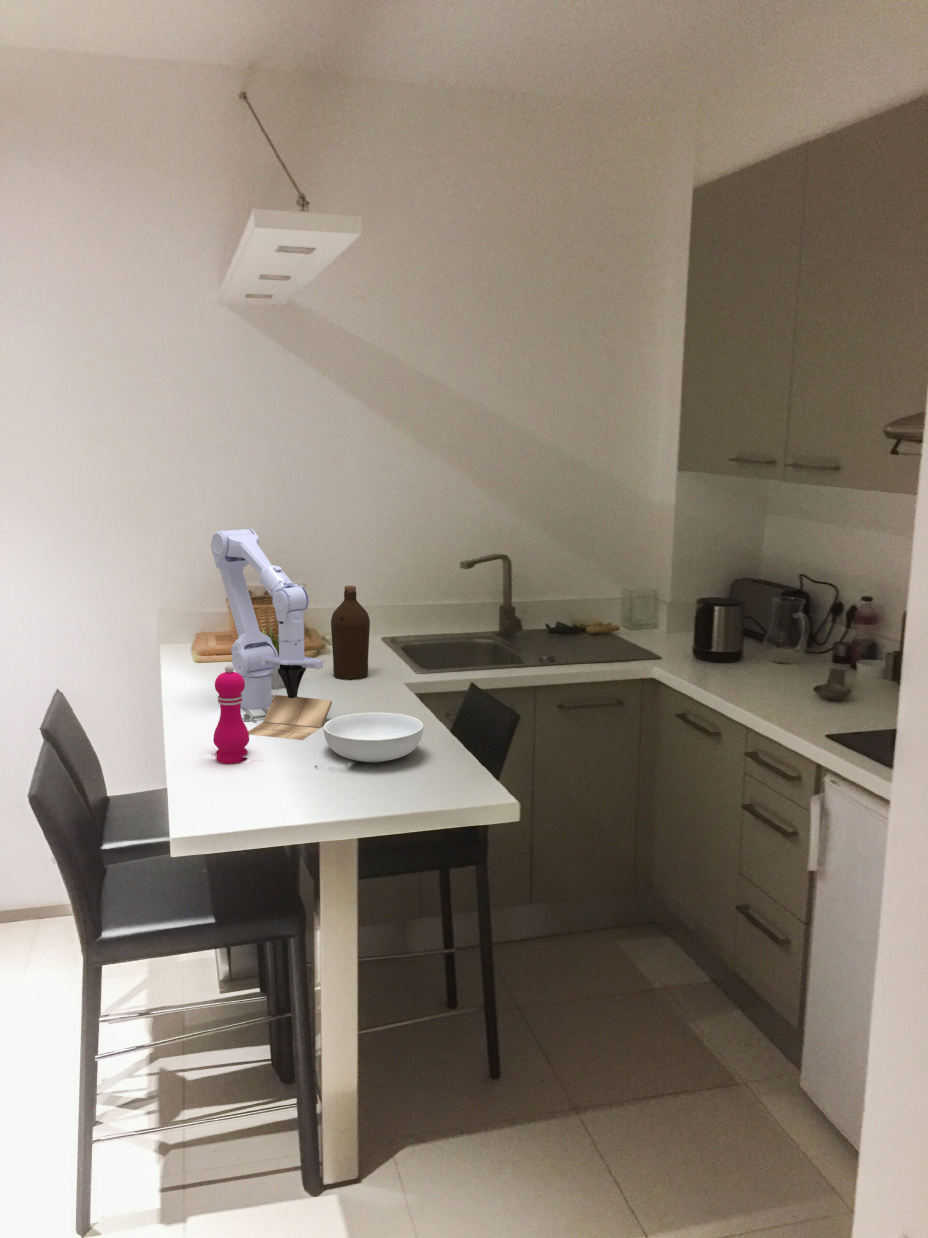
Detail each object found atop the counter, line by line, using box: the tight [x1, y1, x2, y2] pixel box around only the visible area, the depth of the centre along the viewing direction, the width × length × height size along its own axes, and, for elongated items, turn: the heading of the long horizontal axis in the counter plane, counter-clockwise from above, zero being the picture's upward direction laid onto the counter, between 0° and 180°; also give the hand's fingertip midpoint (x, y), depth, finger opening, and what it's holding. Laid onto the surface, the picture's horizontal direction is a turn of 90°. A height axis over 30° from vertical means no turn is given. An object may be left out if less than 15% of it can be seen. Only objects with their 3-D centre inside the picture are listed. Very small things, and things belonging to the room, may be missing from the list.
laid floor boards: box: [248, 722, 320, 741], centre depth 225 cm, size 14×9×1 cm, turn 75°
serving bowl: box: [323, 711, 425, 764], centre depth 212 cm, size 21×21×7 cm
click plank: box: [262, 694, 333, 729], centre depth 232 cm, size 14×8×1 cm
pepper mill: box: [212, 664, 250, 765], centre depth 207 cm, size 7×7×20 cm
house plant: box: [261, 625, 285, 690], centre depth 265 cm, size 14×14×16 cm
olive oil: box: [330, 585, 371, 681], centre depth 278 cm, size 11×11×25 cm
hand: (292, 697), depth 234 cm, fingers closed
